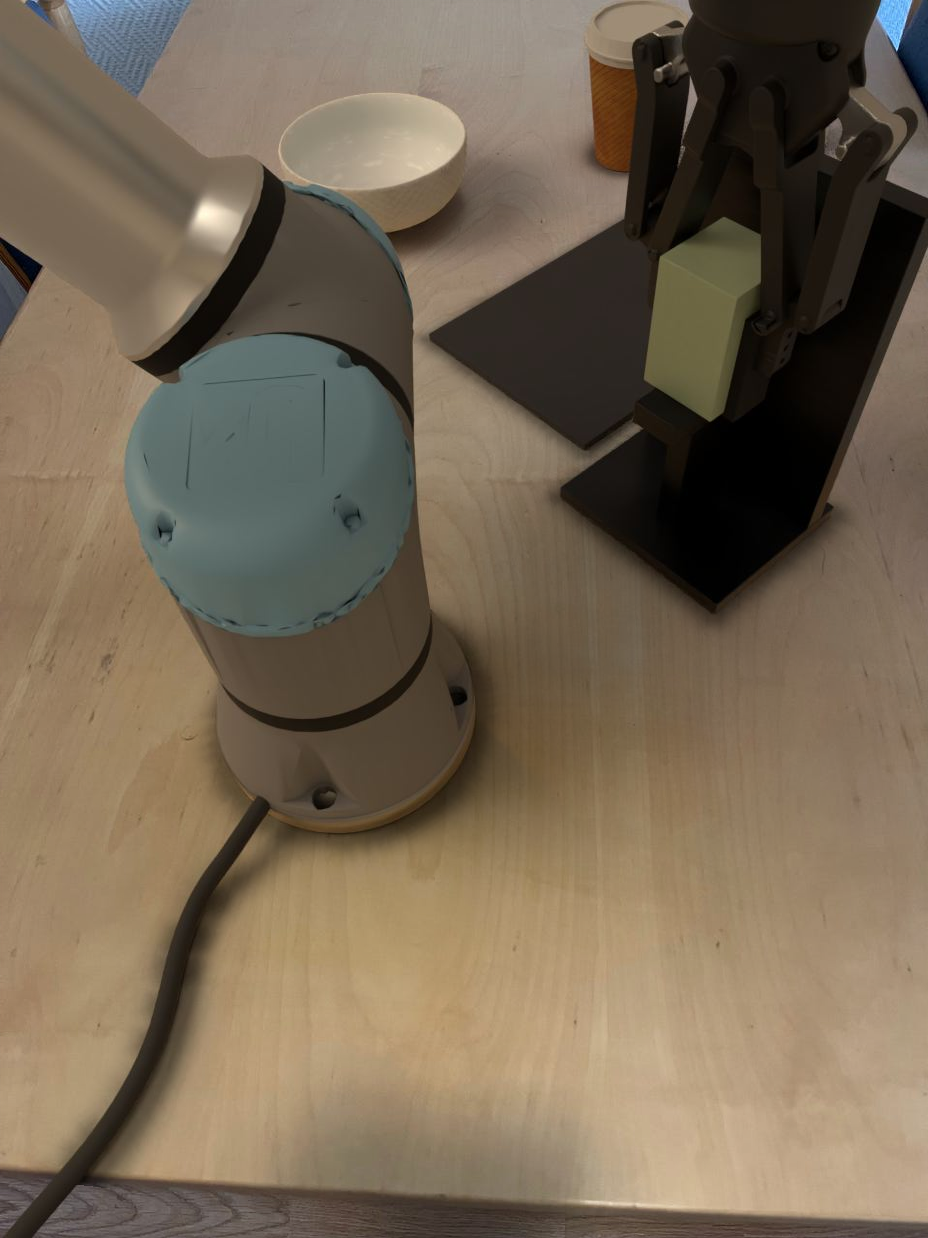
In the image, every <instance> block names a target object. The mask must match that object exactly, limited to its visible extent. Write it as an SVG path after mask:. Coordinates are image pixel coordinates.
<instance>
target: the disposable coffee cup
mask: <svg viewBox="0 0 928 1238" xmlns="http://www.w3.org/2000/svg"><path fill="white" fill-rule="evenodd" d="M674 20H677V21H680V22H681V23H682V24H683V25H684V27H686V25H687V23H688V21H689V20H690V18H689V15H688V13H687V12H686V11H685V10H684V9H682V8H681V7H680V6H678V5H676V4H673V3H670V2H666V1H663V0H618V1H615V2H611V3H609V4H606V5H604V6H602V7H600V8H598V9H597V10H596V11H594V12H593V14H592V15H591V16H590V19H589V24H588V27H587V28H586V30H585V32H584V34H583V42H584V45H585V48H586V51H587V53H588V61H589V73H590V74H589V79H590V91H591V93H590V94H591V109H592V126H593V127H592V128H593V140H594V141H593V142H594V157H595V159H596V161H597V162H598V164H600V165H601V166H602V167H605V168H606V169H609V170H612V171H617V172H629V168H630V158H631V148H632V139H633V129H634V120H635V110H636V100H637V87H636V80H635V73H634V65H633V58H632V45H633V42H634V41H635V40H636V39H638V38H640V37H642V36H644V35H646V34H647V33H649V32H651V31H653V30H655V29H657V28H660V27H662V26H664V25H666V24H668V23H670V22H672V21H674Z"/></svg>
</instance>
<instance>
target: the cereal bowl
mask: <svg viewBox="0 0 928 1238" xmlns="http://www.w3.org/2000/svg"><path fill="white" fill-rule="evenodd" d="M467 149H468V137H467V129H466V126H465V123H464V122H463V120H462V119H461V117H460V116H459V115H458V114H457V113H456V112H455V111H454V110H453V109H451V108H449V107H448V106H446V105H445V104H442V103H441V102H438V101H437V100H434V99H431V98H428V97H425V96H421V95H417V94H410V93H404V92H367V93H359V94H353V95H348V96H345V97H340V98H337V99H334V100H330V101H327V102H325V103H322V104H319V105H317V106H315V107H314V108H312V109H310V110H308V111H306V112H304V113H303V114H301V115H300V116H299V117H297V118H296V119H295V120H294V121H293V122H291V123H290V124H289V126H288V127H287V128H286V129H285V130H284V132H283V134H282V136H281V137H280V139H279V143H278V150H277V151H278V159H279V164H280V167H281V172H282V175H283V179H284V181H290V182H292V183H293V185H299V186H308V185H310V184H311V183H313V184H317V185H320V186H323V187H326V188H328V189H331V190H334V191H335V192H337V193H339V194H341V195H343V196H345V197H347V198H348V199H350V200H351V201H353V202H354V203H356V204H357V205H359V206H360V207H361V208H362V209H363V210H365V211H366V212H367V213H368V214H369V215H370V216H371V217H372V218H373V219H374V220H375V221H376V222H377V223H378V225H379V226H380V227H381V228H382V230H383V231H384V232H385V234H386V233H392V232H397V231H401V230H405V229H408V228H411V227H414V226H417V225H418V224H420V223H423V222H425V221H427V220H429V219H431V218H432V217H433V216H435V215H437V213H439V212H440V211H442V210H443V208H444V207H446V206H447V204H448V203H449V202H450V201H451V200H452V198H453V197H455V194H456V192H457V191H458V189H459V187H460V185H461V183H462V180H463V177H464V174H465V168H466V163H467V157H468V153H467Z"/></svg>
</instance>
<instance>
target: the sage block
mask: <svg viewBox="0 0 928 1238" xmlns="http://www.w3.org/2000/svg"><path fill="white" fill-rule="evenodd" d="M760 309H761V235H760V234H758V233H756V232H754V231H752V230H750V229H748V228H746V227H744V226H742V225H740V224H738V223H736V222H734V221H732V220H730V219H728V218H726V217H723V218H721V219H720V220H718V221H716V222H715V223H713V224H712V225H710V226H708V227H707V228H705V229H704V230H702V231H700V232H699V233H697V234H695V235H694V236H692V237H691V238H689V239H687V240H686V241H684V242H683V243H681V244H679V245H678V246H676V247H675V248H673V249H671V250H670V251H668V252H667V253H665V254H663V255H662V256H660V260H659V268H658V276H657V283H656V291H655V298H654V306H653V314H652V321H651V329H650V336H649V344H648V352H647V359H646V367H645V374H644V380H645V381H647V382H648V383H650V384H651V385H653V386H655V387H656V388H658V389H659V390H661V391H662V392H664V393H666V394H667V395H669V396H670V397H672V398H673V399H675V400H677V401H678V402H680V403H681V404H683V405H684V406H686V407H688V408H689V409H691V410H692V411H694V412H695V413H697V414H698V415H700V416H702V417H703V418H705V419H706V420H708V421H709V422H711V421H712V420H713V419H715V418H716V417H718V416H719V415H720V414H722V413H723V412H724V409H725V405H726V400H727V396H728V392H729V388H730V383H731V379H732V375H733V370H734V366H735V362H736V357H737V353H738V349H739V344H740V340H741V336H742V331H743V327H744V323H745V319H746V318H748V317H749V316H751V315H752V314H754V313H755V312H757V311H758V310H760Z"/></svg>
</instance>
